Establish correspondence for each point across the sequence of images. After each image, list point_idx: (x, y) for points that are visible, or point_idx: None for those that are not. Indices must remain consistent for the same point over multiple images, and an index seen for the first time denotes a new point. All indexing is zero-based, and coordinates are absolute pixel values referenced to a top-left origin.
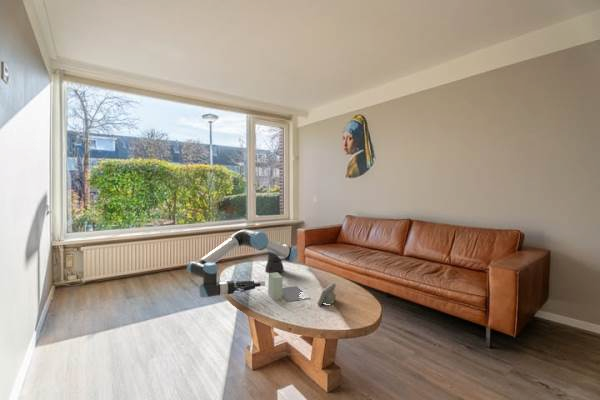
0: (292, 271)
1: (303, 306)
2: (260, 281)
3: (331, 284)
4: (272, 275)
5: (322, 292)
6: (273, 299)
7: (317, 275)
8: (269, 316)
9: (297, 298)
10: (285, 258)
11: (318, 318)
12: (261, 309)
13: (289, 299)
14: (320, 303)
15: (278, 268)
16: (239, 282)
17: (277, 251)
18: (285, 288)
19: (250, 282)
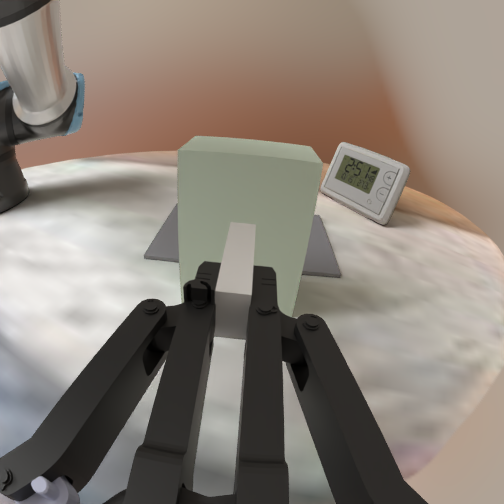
0: (55, 179)
1: (388, 252)
2: (230, 244)
3: (356, 146)
4: (250, 151)
5: (404, 175)
6: (292, 312)
7: (140, 160)
8: (492, 381)
9: (314, 238)
10: (62, 115)
11: (466, 257)
12: (422, 411)
13: (317, 260)
14: (391, 215)
15: (17, 183)
16: (54, 473)
17: (57, 67)
18: (174, 228)
19: (193, 334)
